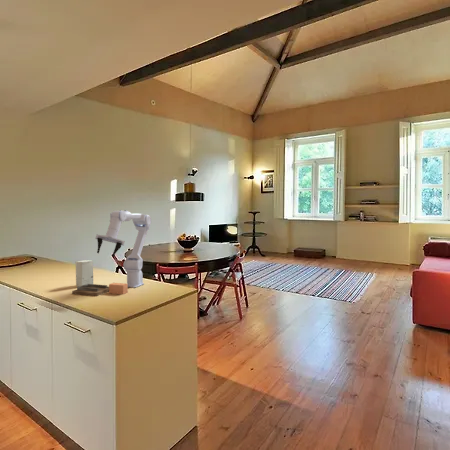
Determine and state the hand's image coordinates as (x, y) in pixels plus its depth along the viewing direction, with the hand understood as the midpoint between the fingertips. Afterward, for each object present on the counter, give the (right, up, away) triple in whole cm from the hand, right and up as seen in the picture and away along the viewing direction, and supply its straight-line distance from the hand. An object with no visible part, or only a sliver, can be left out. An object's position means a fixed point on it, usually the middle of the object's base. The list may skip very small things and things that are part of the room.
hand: (105, 254), depth 171 cm
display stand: (-11, -22, +13) cm, 28 cm away
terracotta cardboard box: (+3, -22, +10) cm, 25 cm away
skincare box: (-22, -21, +28) cm, 42 cm away
